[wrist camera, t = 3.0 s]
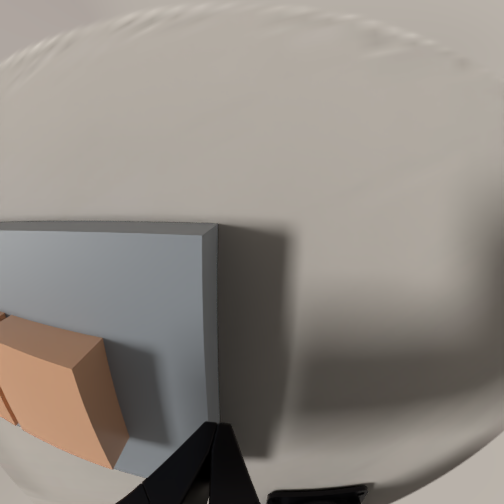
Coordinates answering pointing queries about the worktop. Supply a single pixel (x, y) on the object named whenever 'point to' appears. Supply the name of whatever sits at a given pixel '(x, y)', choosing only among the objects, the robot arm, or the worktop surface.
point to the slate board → (128, 316)
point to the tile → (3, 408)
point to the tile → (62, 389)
